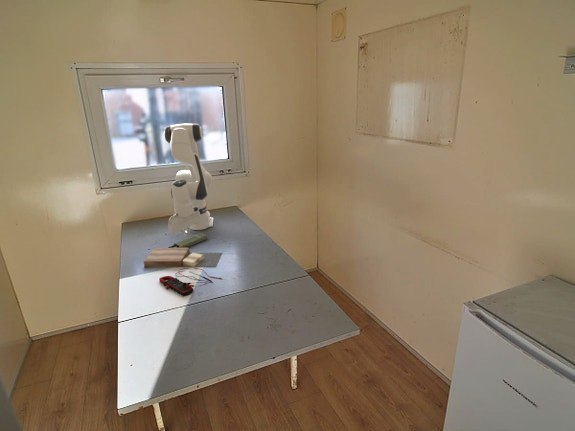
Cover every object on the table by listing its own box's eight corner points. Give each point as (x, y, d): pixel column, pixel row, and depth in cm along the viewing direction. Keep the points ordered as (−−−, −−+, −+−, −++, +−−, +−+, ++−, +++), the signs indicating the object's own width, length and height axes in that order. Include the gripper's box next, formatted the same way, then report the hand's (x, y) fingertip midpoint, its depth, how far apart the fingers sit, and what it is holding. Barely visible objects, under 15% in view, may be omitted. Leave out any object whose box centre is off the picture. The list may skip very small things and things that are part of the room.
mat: (190, 253, 199) (190, 252, 199) (221, 253, 198) (221, 252, 198) (182, 267, 184) (182, 266, 184) (215, 267, 183) (215, 266, 183)
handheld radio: (201, 236, 220) (167, 250, 202) (200, 231, 219) (166, 245, 201) (207, 239, 216) (173, 253, 198) (207, 234, 215) (173, 248, 197)
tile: (193, 256, 194) (192, 252, 193) (203, 258, 192) (203, 254, 191) (182, 264, 185) (182, 260, 184) (193, 266, 183) (193, 262, 182)
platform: (155, 253, 199) (154, 247, 198) (189, 253, 199) (189, 247, 197) (144, 267, 184) (143, 261, 183) (181, 267, 184) (180, 261, 183)
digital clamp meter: (184, 294, 153) (154, 275, 168) (185, 302, 155) (155, 283, 170) (224, 272, 170) (193, 257, 185) (225, 280, 172) (194, 265, 187)
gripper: (172, 218, 171) (176, 243, 176) (201, 206, 188) (203, 229, 193) (163, 216, 174) (167, 240, 179) (192, 204, 191) (195, 227, 196)
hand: (186, 234), depth 186 cm, fingers closed
